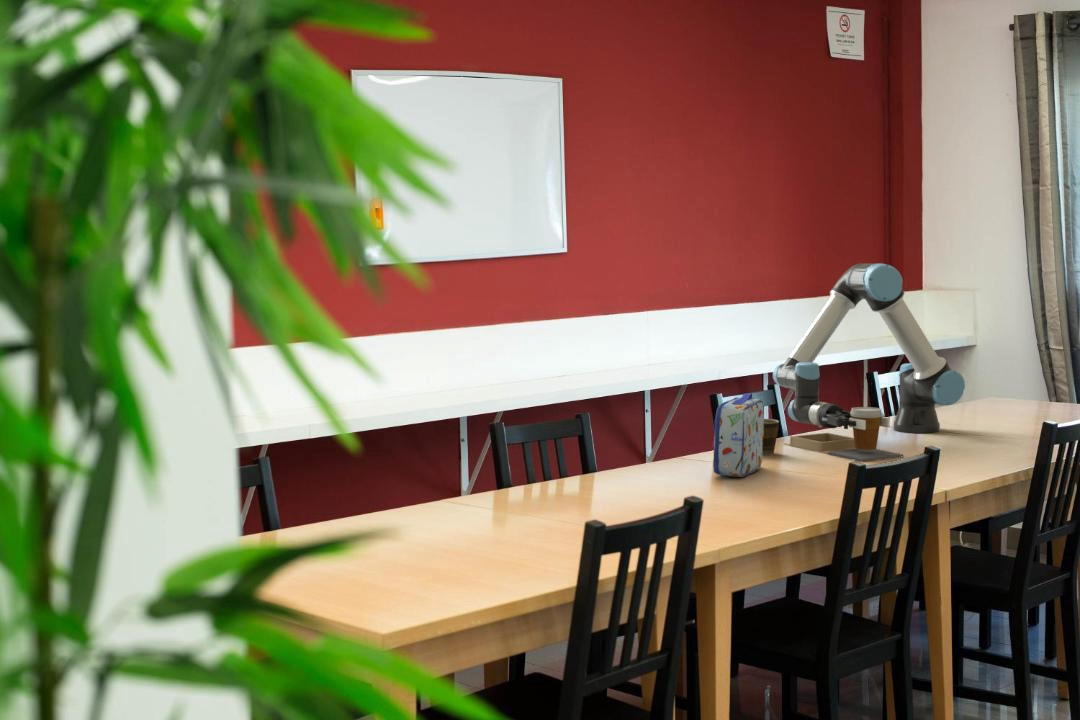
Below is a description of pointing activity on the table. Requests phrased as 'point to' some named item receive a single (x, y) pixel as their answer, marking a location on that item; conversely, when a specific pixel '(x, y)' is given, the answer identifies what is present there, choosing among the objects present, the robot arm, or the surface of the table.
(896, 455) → the charcoal mat
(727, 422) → the lunch box
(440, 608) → the table surface
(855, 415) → the disposable coffee cup
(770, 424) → the ceramic cup
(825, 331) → the robot arm
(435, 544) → the table surface
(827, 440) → the tan shallow tray
